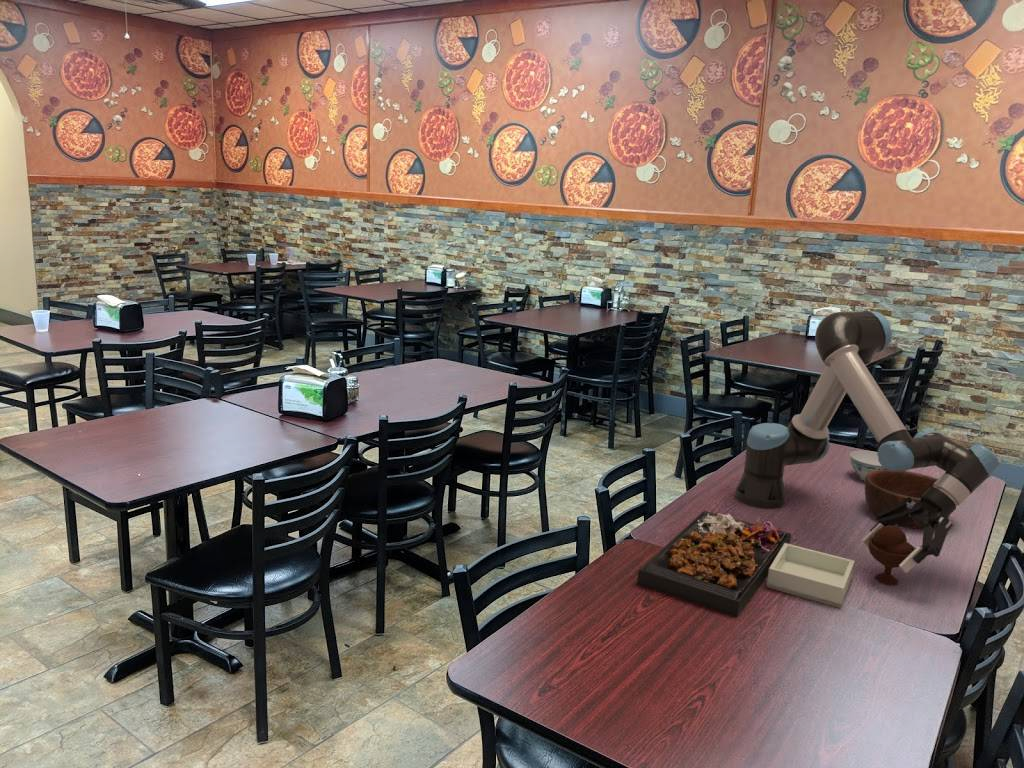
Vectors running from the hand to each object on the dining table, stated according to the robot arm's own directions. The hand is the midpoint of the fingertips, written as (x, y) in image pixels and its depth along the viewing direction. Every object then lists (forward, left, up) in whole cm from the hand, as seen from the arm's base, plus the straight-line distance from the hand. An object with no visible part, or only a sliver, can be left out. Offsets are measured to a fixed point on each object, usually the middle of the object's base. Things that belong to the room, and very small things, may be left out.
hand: (883, 556), depth 198 cm
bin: (-14, -11, -7) cm, 20 cm away
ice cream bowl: (+2, +2, -7) cm, 7 cm away
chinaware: (-11, +78, -7) cm, 79 cm away
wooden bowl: (+2, +51, -7) cm, 51 cm away
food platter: (-36, -15, -8) cm, 40 cm away
